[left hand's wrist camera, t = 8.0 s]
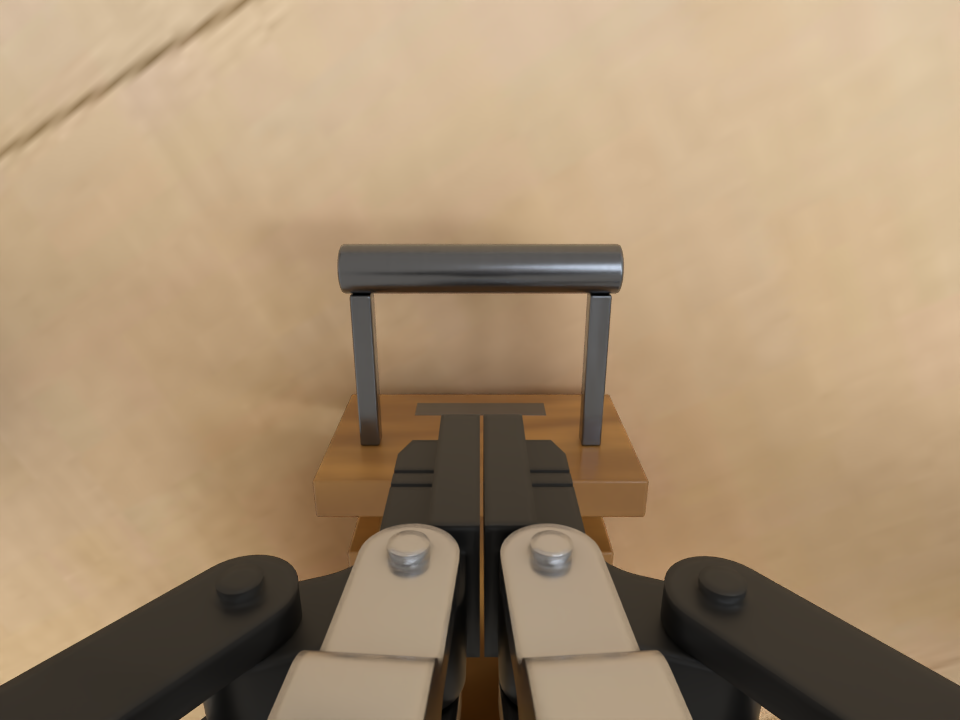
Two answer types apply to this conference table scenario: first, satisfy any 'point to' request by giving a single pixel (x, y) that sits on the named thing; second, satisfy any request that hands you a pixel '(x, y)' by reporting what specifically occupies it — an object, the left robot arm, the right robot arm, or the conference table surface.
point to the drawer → (480, 397)
